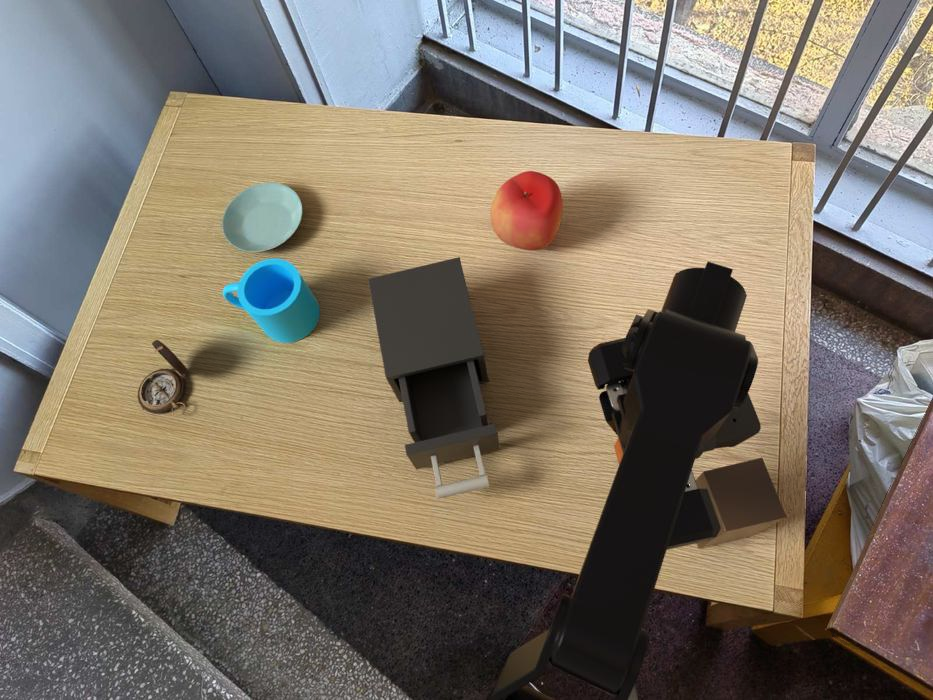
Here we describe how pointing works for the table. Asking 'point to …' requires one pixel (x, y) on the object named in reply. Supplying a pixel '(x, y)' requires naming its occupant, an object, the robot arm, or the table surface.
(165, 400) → the compass
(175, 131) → the table surface
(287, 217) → the saucer
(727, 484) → the stand
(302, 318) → the mug
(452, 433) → the pull-out drawer
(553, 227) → the apple
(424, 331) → the drawer cabinet
